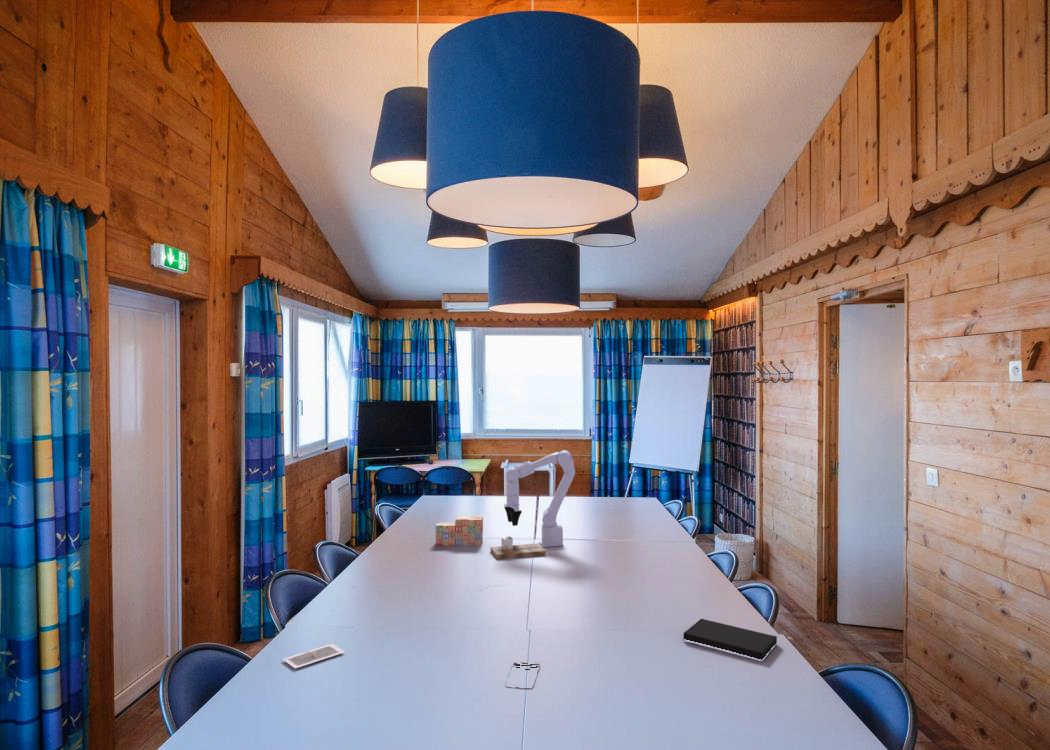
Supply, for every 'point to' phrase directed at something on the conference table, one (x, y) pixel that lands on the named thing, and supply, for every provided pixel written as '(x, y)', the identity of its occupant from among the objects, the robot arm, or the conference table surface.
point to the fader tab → (507, 543)
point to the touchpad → (313, 655)
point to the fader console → (518, 551)
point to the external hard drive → (731, 638)
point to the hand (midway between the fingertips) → (512, 523)
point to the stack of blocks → (460, 532)
